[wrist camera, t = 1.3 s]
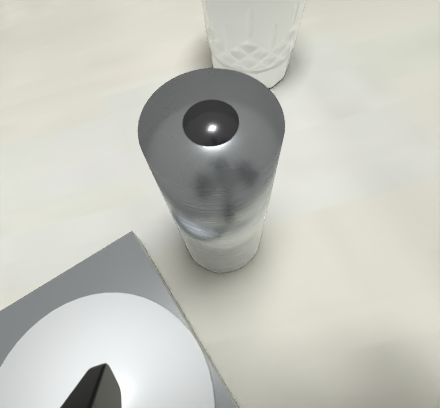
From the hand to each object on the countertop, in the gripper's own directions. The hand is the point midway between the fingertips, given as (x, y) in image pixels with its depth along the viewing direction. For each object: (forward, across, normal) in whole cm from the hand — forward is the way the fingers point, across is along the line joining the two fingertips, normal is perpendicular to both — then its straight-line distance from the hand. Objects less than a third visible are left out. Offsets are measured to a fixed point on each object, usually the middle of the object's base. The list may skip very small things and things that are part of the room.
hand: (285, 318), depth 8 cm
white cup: (+25, -7, -6) cm, 26 cm away
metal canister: (+14, 0, +4) cm, 15 cm away
